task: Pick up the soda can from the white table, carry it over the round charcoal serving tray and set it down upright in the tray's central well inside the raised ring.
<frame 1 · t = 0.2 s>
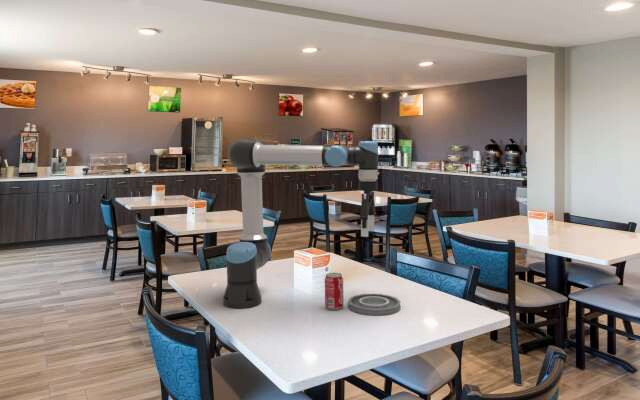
hand: (367, 233, 188), 27 cm above the table, fingers open, 13 cm apart
tray: (374, 306, 182), on the table
soda can: (334, 308, 182), on the table
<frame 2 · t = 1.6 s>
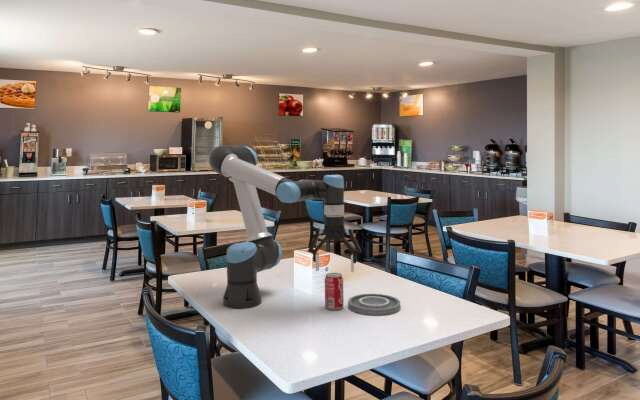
hand: (334, 271, 180), 14 cm above the table, fingers open, 13 cm apart
nothing on the table moved.
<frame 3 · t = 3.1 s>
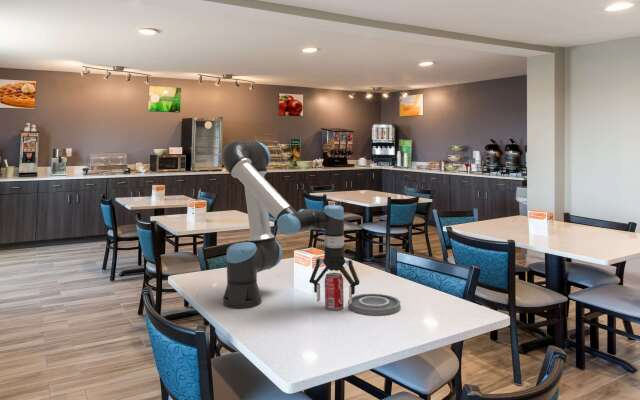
hand: (334, 301, 181), 2 cm above the table, fingers open, 12 cm apart
nothing on the table moved.
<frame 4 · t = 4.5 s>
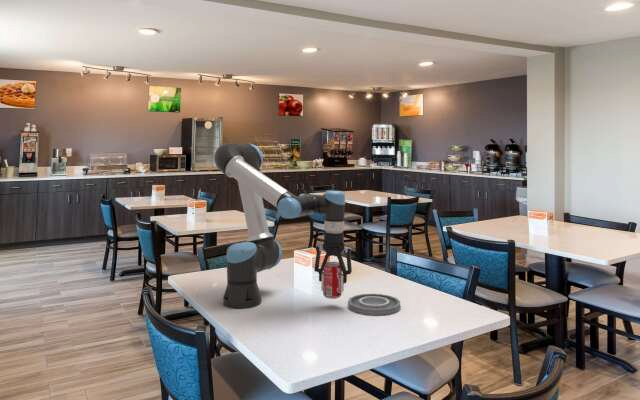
hand: (332, 290, 181), 7 cm above the table, fingers closed on soda can, 7 cm apart
soda can: (332, 297, 182), point 4 cm above the table, touching gripper
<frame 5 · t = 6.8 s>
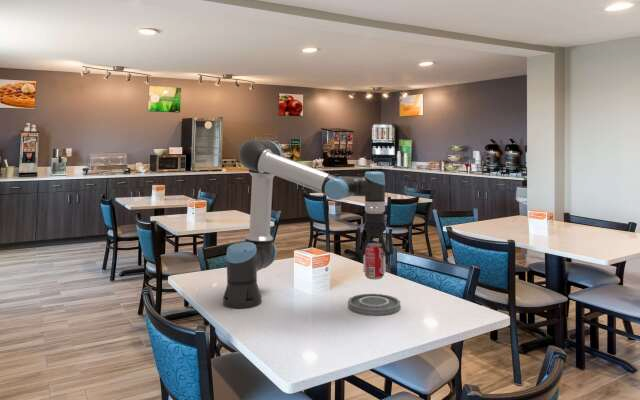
hand: (374, 271, 181), 14 cm above the table, fingers closed on soda can, 7 cm apart
soda can: (374, 278, 181), point 11 cm above the table, touching gripper
when the fingers open (4 cm above the table, at t = 9.2 s): soda can stays where it is, resting on tray.
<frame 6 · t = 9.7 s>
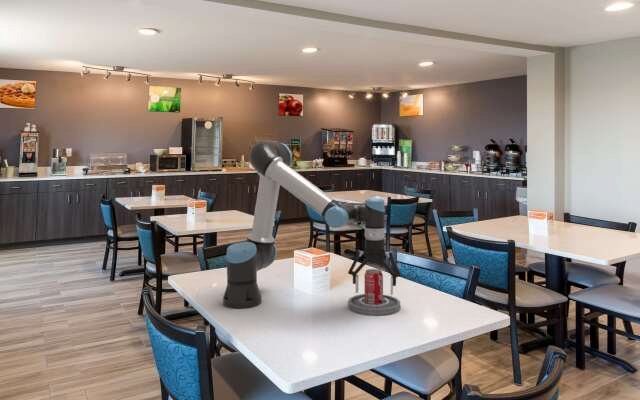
hand: (374, 293, 182), 5 cm above the table, fingers open, 13 cm apart
soda can: (373, 304, 182), point 1 cm above the table, touching tray
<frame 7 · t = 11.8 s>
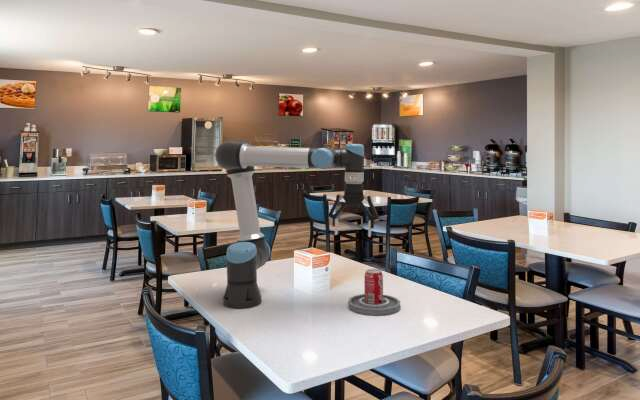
hand: (352, 235, 190), 26 cm above the table, fingers open, 13 cm apart
nothing on the table moved.
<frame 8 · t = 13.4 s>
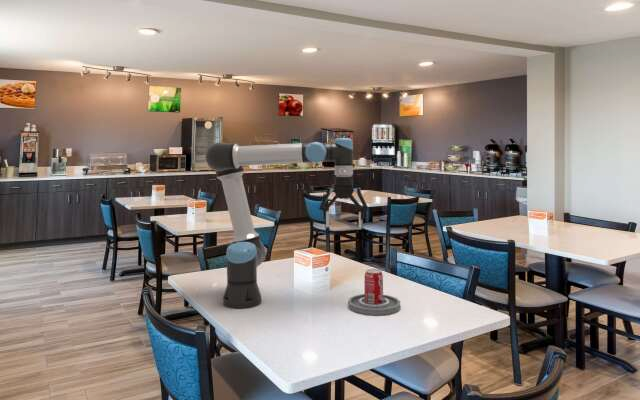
hand: (343, 227, 195), 29 cm above the table, fingers open, 13 cm apart
nothing on the table moved.
at the end: soda can 0.2 cm from the tray (horizontally); soda can tilted 0°; the gripper is holding nothing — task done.
